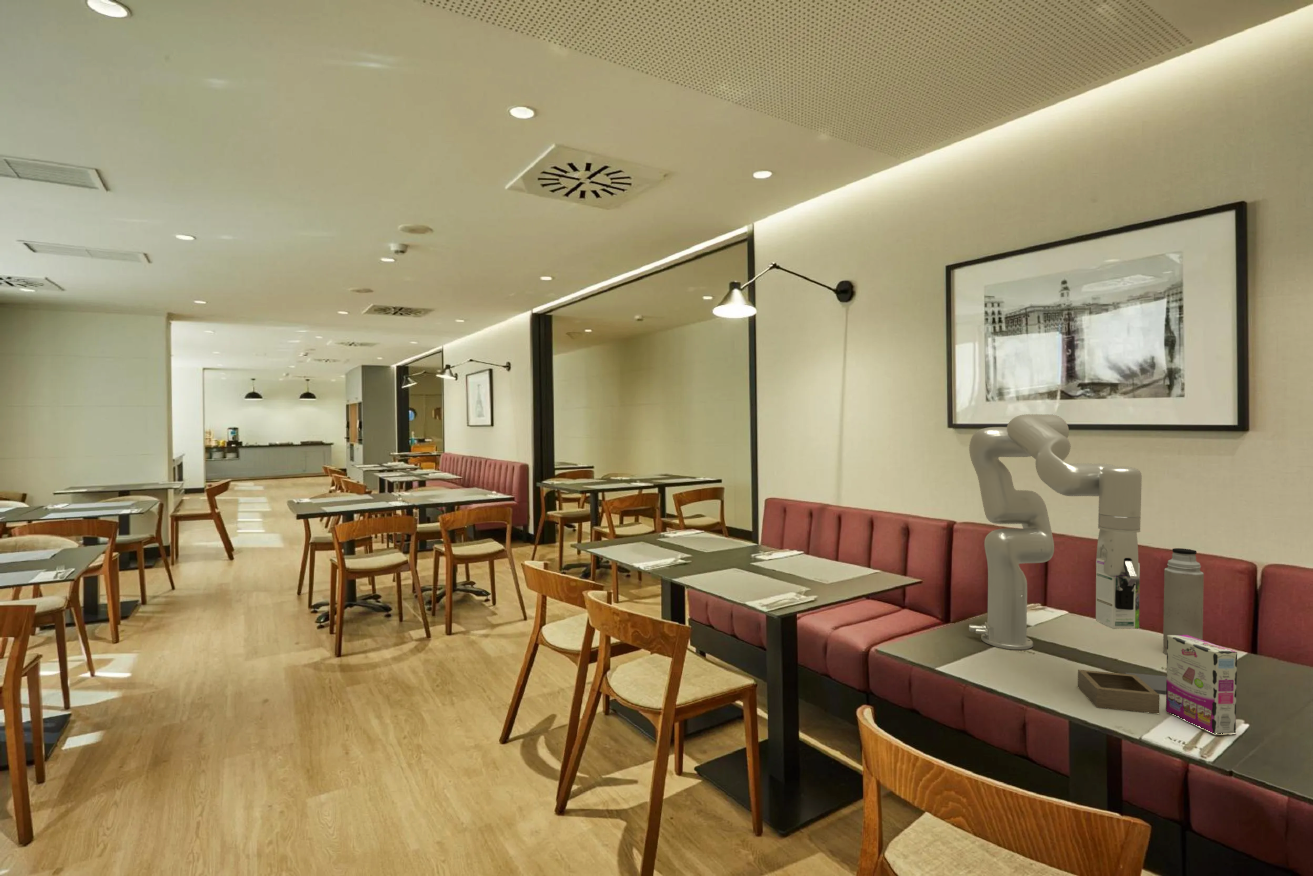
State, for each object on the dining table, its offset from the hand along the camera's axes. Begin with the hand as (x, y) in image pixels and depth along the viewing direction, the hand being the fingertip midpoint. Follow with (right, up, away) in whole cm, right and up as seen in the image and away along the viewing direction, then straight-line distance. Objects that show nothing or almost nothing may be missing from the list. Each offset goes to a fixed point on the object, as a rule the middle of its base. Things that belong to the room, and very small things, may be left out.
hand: (1117, 603), depth 142 cm
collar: (0, -21, 0) cm, 21 cm away
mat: (+15, -21, +8) cm, 27 cm away
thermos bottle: (+37, -21, +28) cm, 51 cm away
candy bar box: (+9, -22, -11) cm, 26 cm away
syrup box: (0, -5, 0) cm, 5 cm away
